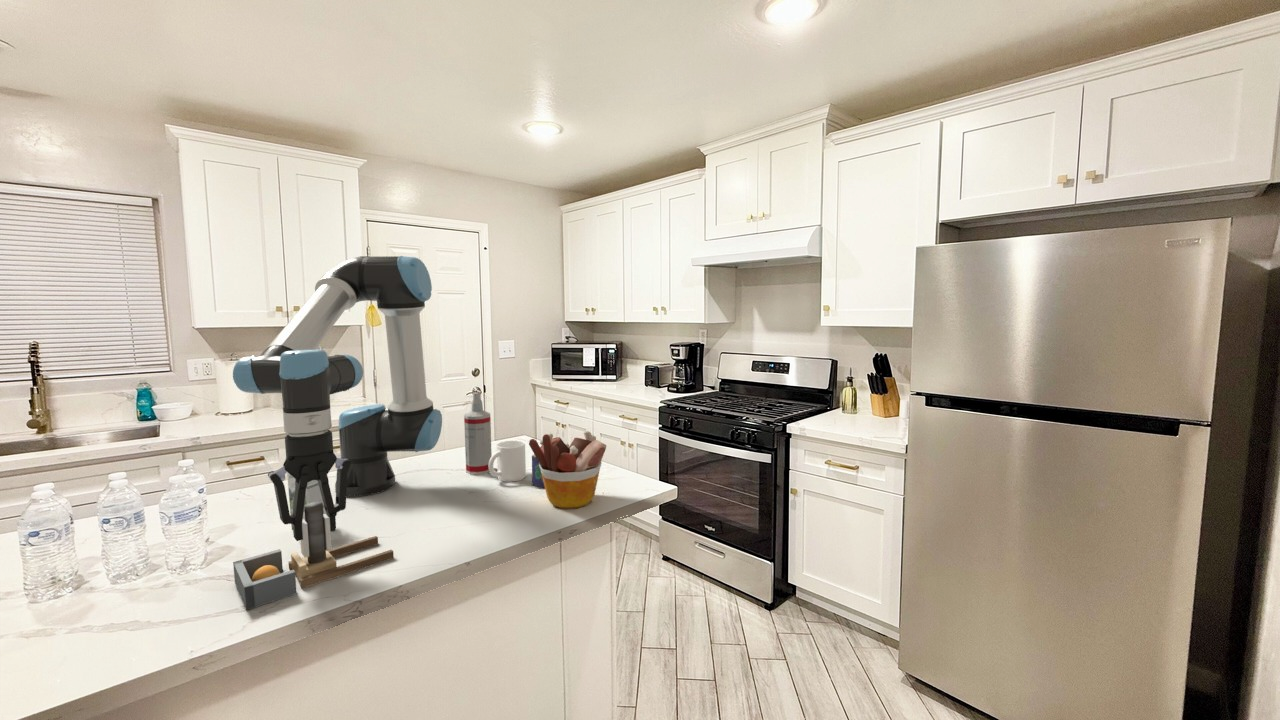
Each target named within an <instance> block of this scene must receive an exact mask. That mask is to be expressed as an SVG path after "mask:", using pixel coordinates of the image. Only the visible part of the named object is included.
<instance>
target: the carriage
mask: <svg viewBox="0 0 1280 720" xmlns="http://www.w3.org/2000/svg"><path fill="white" fill-rule="evenodd" d="M304 511H305V521H306V522H307V526H308V541H309V557H306V558H305V557H304V556H303V557H304V558H303V557H301V555H299V553H298V552H294V553H291V554H290V559H291V560H290V561H292V570H294V571H295V576H296V578H297V580H298V581H299V582H300V578H304V577H307V576H310V575H313V574H316V573H319V572H322V571H326V570H329V569H332V568H335V567H338V566H337V560H336V559H335V557H334V558H333V556H332V555H331V554H330V553H329V552H328V551H327V550H326V546H325V531H324V515H323V503H322V502H313V503H309V504H306V505H305V506H304Z"/></svg>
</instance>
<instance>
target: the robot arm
mask: <svg viewBox="0 0 1280 720" xmlns="http://www.w3.org/2000/svg"><path fill="white" fill-rule="evenodd" d="M432 288H433V287H432V279H431V276H430V272H429V270H428V268H427V266H426V265H425V263H424V262H423V261H422V260H421V259H419V258H418V257H415V256H403V255H400V256H399V255H398V256H368V255H367V256H365V255H364V256H357V257H352V258H350V259H347V260H345V261H342V262H340V263H338V264H337V265H336V266H334V267H333V268H331V269H330V270H328V271H327V272H326V273H325V274H324V275H322V276H321V277H320V279H319V280H318V281H317V282H316V283H315V286H314V292H313V294H312V295H310V297H309V298H308V299H307V301H306V302H305V303H304V304H303V305H302V307H301V308H300V309H299V310H298V311H297V312H296V313H295V314H294V316H293V317H292V318H291V319H290V320H289V321H288V322H287V324H286V325H285V326H284V327H283V328H282V329H281V331H280V332H279V333H278V334H277V335H276V336H275V337H274V339H273V340H271V342H270V343H269V344H268V345H267V347H266V348H265V349H264V350H263V351H262V352H261V353H260V355H259V356H256V355H251V356H244V357H242V358H239V359H238V360H237V361H236V362H235V364H234V366H233V370H232V380H233V383H234V384H235V386H236V388H237V389H238V390H240V391H241V392H243V393H251V394H260V395H265V394H281V398H282V399H281V400H282V414H283V416H282V417H283V431H284V433H285V434H287V435H286V436H285V437H284V446H285V447H284V448H285V460H284V462H283V464H282V466H281V468H278V469H277V470H275V471H272V470H271V471H269V472H268V473H267V476H268V478H269V480H270V481H271V482H272V484H273V487H274V492H275V499H276V505H277V508H278V509H277V510H278V514H279V519H280V521H281V522H282V523H283V524H284V525H291V524H293V530H292V531H293V532H292V533H293V534H292V535H293V538H294V539H295V541H296V542H298V541H300V552H301V554H302V557H305V558H306V557H309V541H308V526H307V522H306V521H305V520H304V519H303V512H304V503H305V494H306V488H307V483H308V482H310V481H312V480H317V481H318V484H319V488H320V492H321V496H322V500H323V504H324V508H325V511H326V514H323V515H324V531H325V546H326V551H330V550H332V549H333V548H332V537H331V536H332V535H331V532H334V531H335V532H336V529H337V523H336V522H337V521H336V519H337V518H336V517H337V515H338V513H339V512H340V511H344V510H345V509H346V508H347V497H353V498H354V497H363V496H370V495H375V494H379V493H382V492H385V491H388V490H390V489H392V488H393V487H395V485H396V475H395V471H394V470H393V467H392V466H391V463H390V460H389V458H388V452H389V453H391V452H414V453H418V452H424V451H425V452H426V451H427V452H428V451H430V450H433V449H434V448H435V446H437V444H438V442H439V439H440V437H441V434H442V433H441V432H442V427H443V415H442V412H441V410H439V409H437V408H434V402H433V401H432V399H430V398H428V397H427V388H426V387H427V385H426V376H425V374H426V373H425V363H424V351H423V340H422V328H421V325H422V324H421V315H420V314H421V312H422V311H423V309H425V307H426V305H425V302H427V301H429V300H430V299H431V297H432V290H433V289H432ZM365 301H366V302H367V301H369V302H372V301H373V302H374V301H375V302H376V307H377V310H378V311H380V312H381V313H382V314H383V315H384V319H385V320H384V322H385V332H386V342H387V352H388V362H389V370H390V383H391V392H392V401H391V402H390V404H389V405H388V406H387V408H386V406H385V405H384V404H380V403H379V404H378V403H377V404H370V405H365V406H359V407H354V408H350V409H346V410H344V411H343V412H341V413H340V414H339V416H338V427H337V429H338V437H339V451H340V457H337V455H336V454H335V452H334V441H333V432H332V430H330V429H331V428H332V425H333V424H332V413H331V395H333V394H337V393H341V392H347V391H349V390H350V389H352V388H354V387H356V386H358V385H359V383H361V381H362V380H363V377H364V369H363V366H362V363H361V362H360V360H359V359H357V358H356V357H355V356H352V355H349V354H334V355H330V356H329V355H328V354H327V352H326V351H325V350H323V349H317V348H318V347H319V345H320V344H321V343H322V342H323V340H324V339H325V337H326V336H327V334H328V333H329V332H330V331H331V329H332V328H333V327H334V325H336V322H337V321H338V320H339V319H340V318H341V316H342V315H343V314H344V312H345V311H348V310H350V309H352V308H353V307H354V306H355V304H357V303H359V302H365ZM334 465H335V469H336V478H335V479H336V480H335V483H334V488H335V489H334V490H335V491H334V493H335V502H334V500H333V495H332V491H331V488H330V483H329V482H330V481H329V476H328V474H329V473H330V470H332V468H333V467H334ZM287 472H288V473H289V474H290V475H291V476H293V477H294V478H295V495H294V504H293V513H292V515H291V514H290V506H289V504H288V502H289V501H288V498H287V493H286V487H285V483H284V481H286V474H287ZM334 503H335V504H334Z"/></svg>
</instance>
